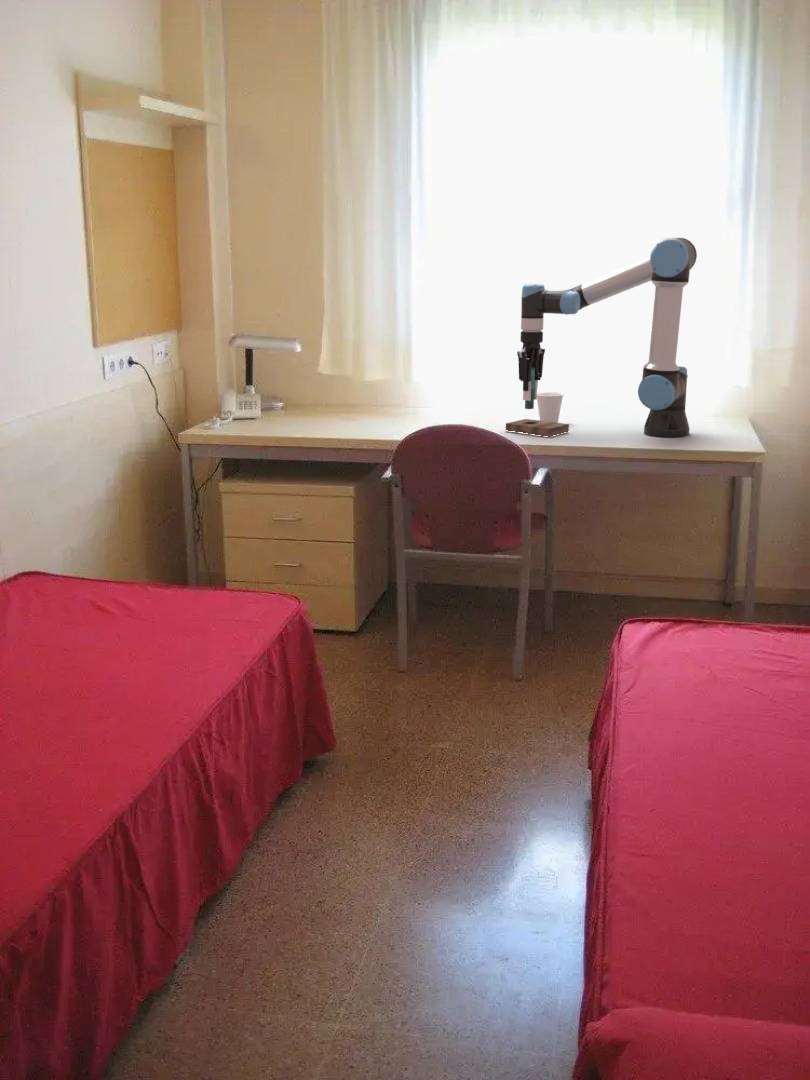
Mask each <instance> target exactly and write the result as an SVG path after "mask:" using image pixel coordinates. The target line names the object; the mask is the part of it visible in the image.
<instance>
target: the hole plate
mask: <svg viewBox="0 0 810 1080" xmlns="http://www.w3.org/2000/svg"><path fill="white" fill-rule="evenodd" d="M506 430H508V431H515V432H523V433H528V434H535V435H541V436H548V437H550V436H553V435H557V434H561V433H564V432H568V431H569V432H570V424H569V423H563V422H558V423H556V422H547V421H540V419H538V420H537V419H530V418H524V419H520V420H515V421H510V422H506V423H505V431H506ZM548 437H547V438H548ZM550 438H551V437H550Z"/></svg>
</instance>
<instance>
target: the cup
mask: <svg viewBox="0 0 810 1080" xmlns="http://www.w3.org/2000/svg"><path fill="white" fill-rule="evenodd" d="M563 397H564V393H562V392H556V391H543V392H537V399H536V402H537V408H538V409H537V410H538V415H539V421H547V422H556V423H559V418H560V412H561V408H562V402H563Z"/></svg>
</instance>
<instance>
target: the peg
mask: <svg viewBox="0 0 810 1080" xmlns="http://www.w3.org/2000/svg"><path fill="white" fill-rule="evenodd" d="M534 380H535V368H534V367H531V373H530V382H531V401H527V400H524V401H525V402H524V409H525V410H533V409H534V407H535V399H534Z"/></svg>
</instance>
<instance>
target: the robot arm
mask: <svg viewBox="0 0 810 1080" xmlns="http://www.w3.org/2000/svg"><path fill="white" fill-rule="evenodd" d="M652 248H653V249H652V250H651V253H650V256H647V257H644V258H642V259H640V260H638V261H636V262H633V263H630V264H628V265H625V266H623V267H621V268H618V269H616V270H613V271H611V272H609V273H606V274H604V275H602V276H601V275H600V276H599V277H597V278H594V279H592V280H589V281H587V282H584V283H582V284H579V285H577V286H574V287H572V288H569V289H565V290H563V289H562V290H548V289H545V285H544V284H543V283H526V284H524V285H522V287H521V288H522V289H521V311H520V313H521V316H520V317H521V320H520V321H521V322H520V329H521V331H520V342H521V343H522V348H521V350H519V351H517V353H516V354H517V358H518V360H517V361H518V379H519V381H520V382H522V391H523V392H522V400H523V401H525V400H527V401H531V382H530V373H531V367H534V368H535V380H534V401H535V400H536V401H537V393H538V387H539V386H538V385H539V384H538V382H539V381H541V378H542V377H543V369H544V368H543V367H544V358H545V357H544V356H545V352H546V349H545V348H541V344H542V343H543V341H544V332H543V330H544V314H552V315H553V314H558V315H567V316H568V315H576V314H577V313H578V312H579V311H580V310H582V309H584V308H586V307H589V306H591V305H593V304H595V303H599V302H601V301H603V300H607V299H609V298H611V297H613V296H616V295H619V294H621V293H623V292H625V291H629V290H631V289H634V288H635V287H638V286H641V285H643V284H645V283H648V282H650V281H651V282H652V284H653V285H654V286H655V291H654V299H653V300H654V301H653V302H654V303H653V311H652V312H653V313H652V323H651V334H650V342H649V343H650V344H649V354H648V355H649V356H648V361H647V362H646V364H644V365H643V368H642V375H641V376H642V378H641V381H640V383H639V384H638V389H637V394H638V399H639V401H640V402H641V404H642V405H643V406H644V407H645V408H647V409H649V413H648V415H647V418H646V421H645V423H644V427H643V433H644V434H645V435H647V436H652V437H658V438H659V437H660V438H679V437H686V436H688V435H690V425H689V420H688V417H687V413H686V402H687V387H688V386H687V383H688V368H687V367H685V366H678V365H677V363H676V361H677V353H678V352H677V351H678V344H679V343H678V341H679V331H680V322H681V321H680V320H681V311H682V303H683V291H684V288H685V286H687V285H689V279H690V271H691V269H692V268H693V267H694V265H695V263H696V262H697V257H698V253H697V249H696V246H695V245H694V244H693V243H692V241H690V240H689V239H687V238H684V237H668V238H664V239H662V240H660V241H659V242H658V243H657V244H655V245H654V247H652Z"/></svg>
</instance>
